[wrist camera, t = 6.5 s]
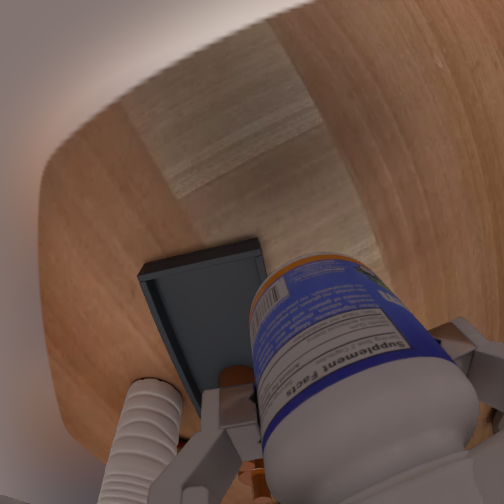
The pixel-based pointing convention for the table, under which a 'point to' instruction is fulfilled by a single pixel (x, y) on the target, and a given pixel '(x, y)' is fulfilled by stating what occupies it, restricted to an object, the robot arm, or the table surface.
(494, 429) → the bowl
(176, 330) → the tray
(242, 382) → the amber bottle
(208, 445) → the robot arm
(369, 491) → the pill bottle
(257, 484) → the amber bottle
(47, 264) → the table surface
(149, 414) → the water bottle
